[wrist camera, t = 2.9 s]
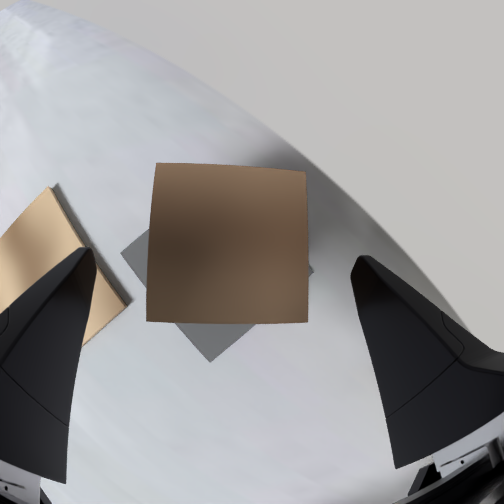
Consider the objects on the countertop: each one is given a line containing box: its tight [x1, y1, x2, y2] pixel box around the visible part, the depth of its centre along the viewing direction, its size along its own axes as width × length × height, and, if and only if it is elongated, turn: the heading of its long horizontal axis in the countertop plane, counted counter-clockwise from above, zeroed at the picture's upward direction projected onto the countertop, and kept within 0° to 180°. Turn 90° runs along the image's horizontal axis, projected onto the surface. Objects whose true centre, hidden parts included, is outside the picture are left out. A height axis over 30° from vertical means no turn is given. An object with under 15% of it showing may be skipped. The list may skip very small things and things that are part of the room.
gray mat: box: [121, 229, 313, 362], centre depth 17 cm, size 9×9×1 cm
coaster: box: [0, 186, 127, 347], centre depth 15 cm, size 10×10×1 cm
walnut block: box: [146, 163, 308, 324], centre depth 13 cm, size 5×5×8 cm
